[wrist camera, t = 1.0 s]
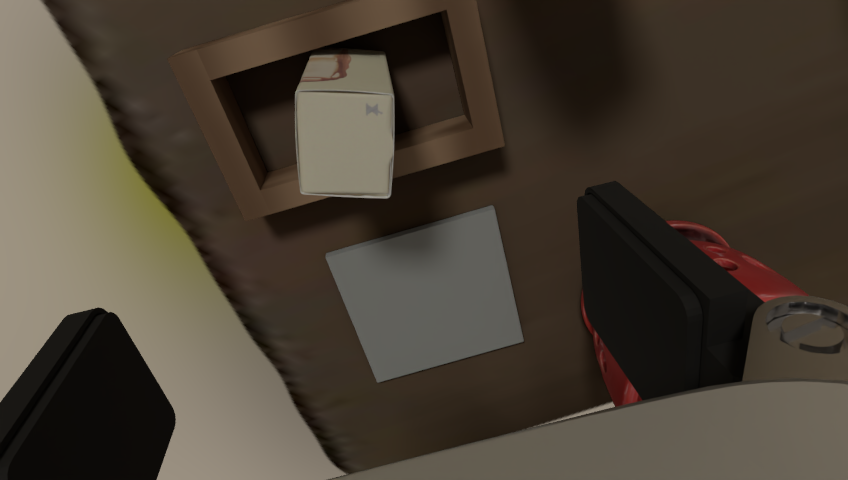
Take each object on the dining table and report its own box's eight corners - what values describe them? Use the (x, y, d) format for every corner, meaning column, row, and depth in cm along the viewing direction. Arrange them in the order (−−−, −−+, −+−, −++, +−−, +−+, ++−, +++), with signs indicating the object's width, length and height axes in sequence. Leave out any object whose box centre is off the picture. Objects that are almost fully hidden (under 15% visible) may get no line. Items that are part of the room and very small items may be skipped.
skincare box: (310, 45, 31) (293, 81, 22) (387, 50, 32) (399, 87, 23) (312, 133, 34) (297, 197, 25) (383, 136, 34) (393, 200, 25)
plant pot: (660, 168, 37) (779, 253, 27) (755, 269, 42) (887, 373, 32) (524, 294, 41) (583, 411, 31) (627, 372, 46) (707, 496, 36)
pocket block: (459, -34, 30) (469, -33, 27) (493, 131, 35) (504, 145, 32) (183, 49, 30) (166, 58, 28) (253, 201, 35) (245, 221, 33)
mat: (492, 205, 37) (494, 208, 37) (521, 336, 43) (523, 341, 42) (326, 253, 38) (325, 257, 37) (377, 377, 43) (377, 382, 43)
